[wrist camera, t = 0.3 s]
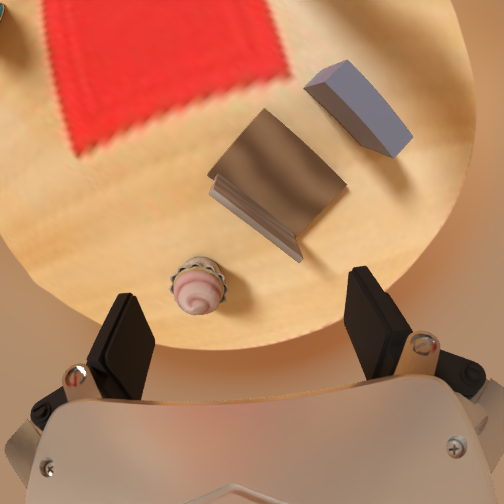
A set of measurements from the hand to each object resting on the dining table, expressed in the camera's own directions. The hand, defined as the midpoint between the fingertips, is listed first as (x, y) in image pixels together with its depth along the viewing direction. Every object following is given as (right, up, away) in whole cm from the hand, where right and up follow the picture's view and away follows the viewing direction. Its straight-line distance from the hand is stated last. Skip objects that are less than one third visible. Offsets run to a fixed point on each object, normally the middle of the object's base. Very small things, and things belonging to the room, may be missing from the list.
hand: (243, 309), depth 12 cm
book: (+13, +23, +22) cm, 35 cm away
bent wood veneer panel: (+4, +13, +27) cm, 31 cm away
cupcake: (-8, -1, +35) cm, 36 cm away
